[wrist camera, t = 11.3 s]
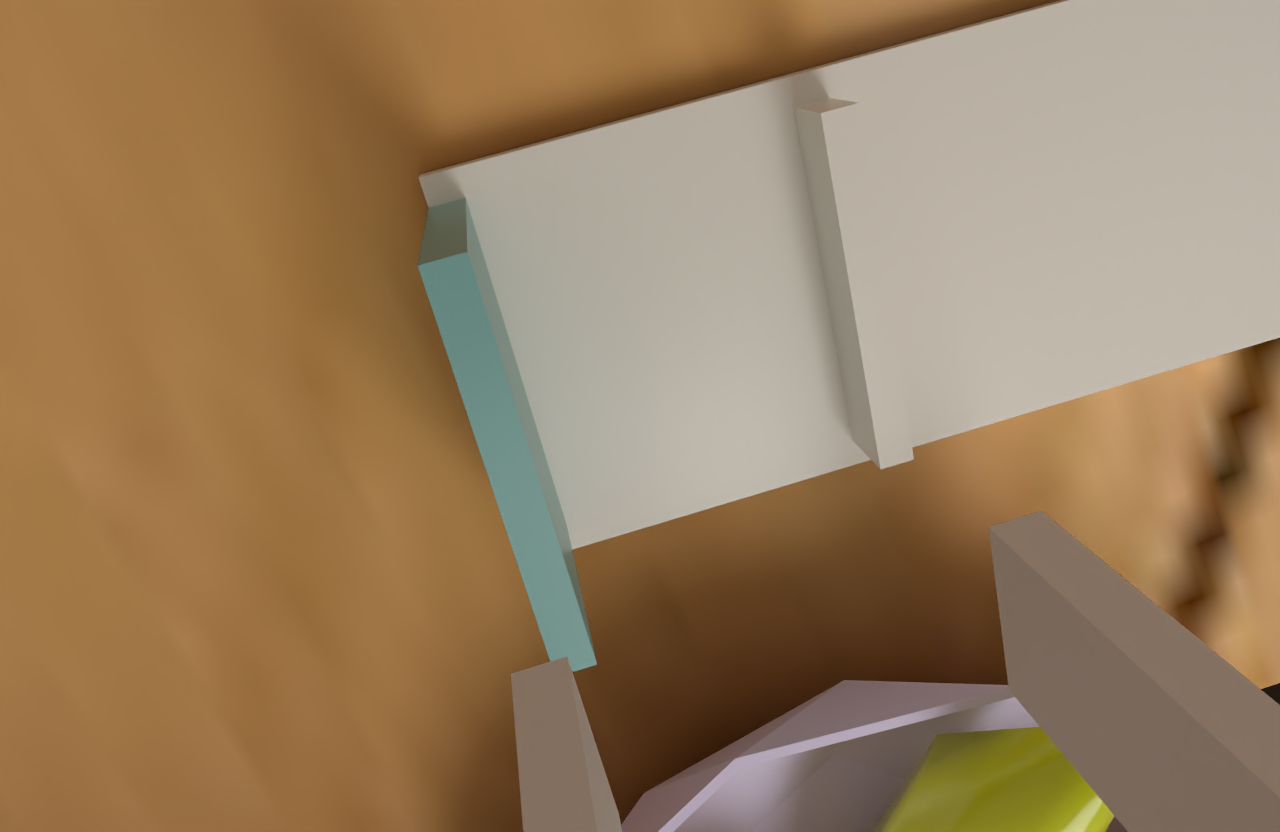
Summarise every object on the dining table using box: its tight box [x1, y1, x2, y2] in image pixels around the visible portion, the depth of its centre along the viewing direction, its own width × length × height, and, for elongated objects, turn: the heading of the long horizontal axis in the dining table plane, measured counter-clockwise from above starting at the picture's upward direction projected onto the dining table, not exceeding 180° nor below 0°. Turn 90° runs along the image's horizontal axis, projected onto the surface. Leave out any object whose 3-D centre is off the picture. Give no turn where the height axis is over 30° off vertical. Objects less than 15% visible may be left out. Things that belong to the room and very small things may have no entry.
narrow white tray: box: [418, 0, 1280, 672], centre depth 26 cm, size 32×12×8 cm, turn 104°
